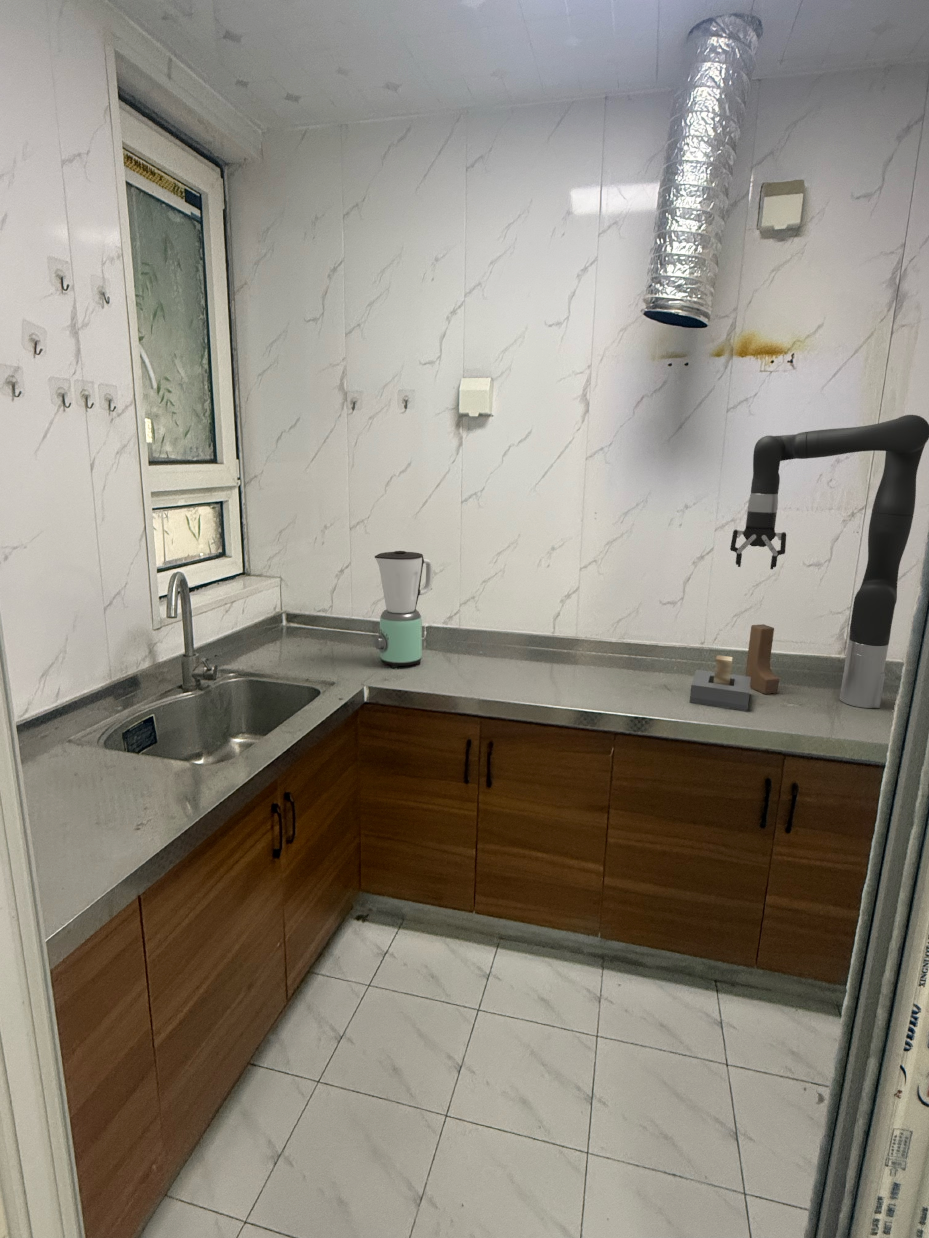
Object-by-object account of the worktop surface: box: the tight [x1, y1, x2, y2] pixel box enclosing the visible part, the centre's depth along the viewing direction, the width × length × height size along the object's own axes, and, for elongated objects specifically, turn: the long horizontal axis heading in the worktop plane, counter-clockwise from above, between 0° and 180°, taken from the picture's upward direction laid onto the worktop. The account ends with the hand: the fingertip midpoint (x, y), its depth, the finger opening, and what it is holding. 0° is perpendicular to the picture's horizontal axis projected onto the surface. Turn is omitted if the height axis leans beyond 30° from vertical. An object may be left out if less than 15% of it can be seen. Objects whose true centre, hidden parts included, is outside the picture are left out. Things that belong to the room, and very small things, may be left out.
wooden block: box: [744, 623, 780, 695], centre depth 193 cm, size 9×4×18 cm, turn 16°
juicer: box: [373, 550, 433, 669], centre depth 210 cm, size 19×13×35 cm
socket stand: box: [689, 669, 751, 712], centre depth 187 cm, size 14×14×5 cm
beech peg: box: [714, 654, 733, 685], centre depth 186 cm, size 4×4×10 cm
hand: (755, 567), depth 193 cm, fingers open, 8 cm apart
